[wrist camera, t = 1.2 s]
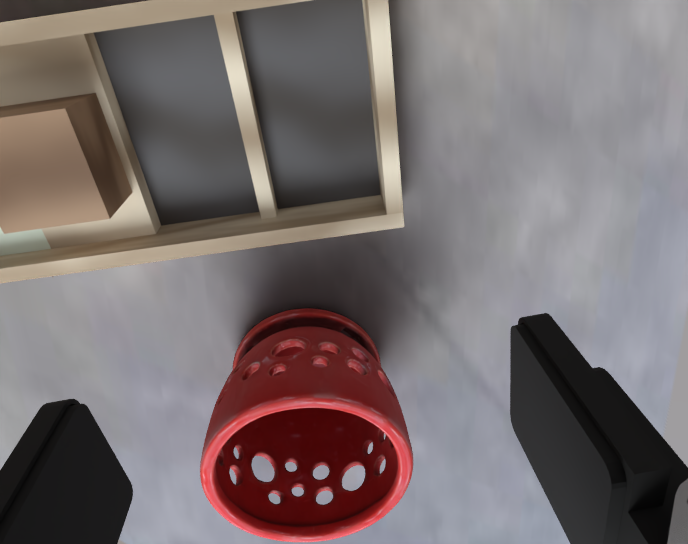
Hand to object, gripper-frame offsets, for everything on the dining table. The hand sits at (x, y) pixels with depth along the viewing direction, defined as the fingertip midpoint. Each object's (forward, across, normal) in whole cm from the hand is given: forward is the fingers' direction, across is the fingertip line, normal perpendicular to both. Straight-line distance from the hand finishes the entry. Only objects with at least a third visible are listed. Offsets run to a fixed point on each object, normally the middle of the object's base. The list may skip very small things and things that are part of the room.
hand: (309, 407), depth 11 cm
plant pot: (+24, +3, +17) cm, 30 cm away
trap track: (+24, +10, -2) cm, 26 cm away
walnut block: (+22, +14, -2) cm, 26 cm away
